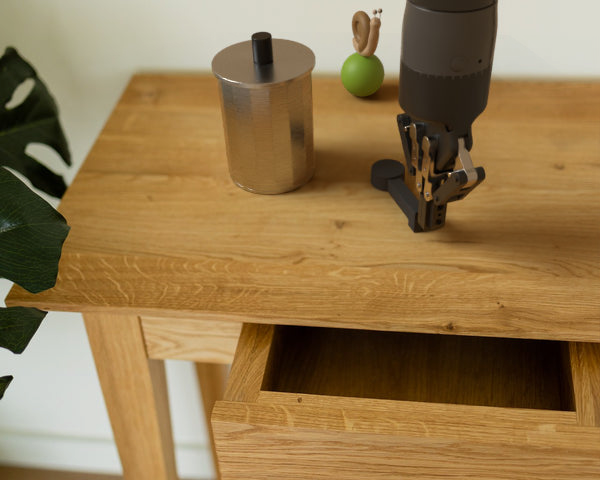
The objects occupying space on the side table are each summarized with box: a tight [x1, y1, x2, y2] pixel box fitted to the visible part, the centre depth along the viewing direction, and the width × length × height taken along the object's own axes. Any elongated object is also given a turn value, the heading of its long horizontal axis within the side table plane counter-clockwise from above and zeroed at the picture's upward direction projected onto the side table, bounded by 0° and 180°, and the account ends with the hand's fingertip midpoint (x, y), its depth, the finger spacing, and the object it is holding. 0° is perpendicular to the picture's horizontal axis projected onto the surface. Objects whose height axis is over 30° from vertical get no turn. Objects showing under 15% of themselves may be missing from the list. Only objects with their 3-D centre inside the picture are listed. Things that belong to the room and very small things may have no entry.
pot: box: [216, 72, 316, 195], centre depth 80 cm, size 9×9×12 cm
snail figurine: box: [340, 7, 385, 98], centre depth 92 cm, size 5×6×12 cm
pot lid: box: [210, 31, 316, 89], centre depth 75 cm, size 10×10×4 cm
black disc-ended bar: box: [370, 158, 424, 233], centre depth 78 cm, size 4×11×2 cm, turn 18°
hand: (430, 225), depth 73 cm, fingers closed
